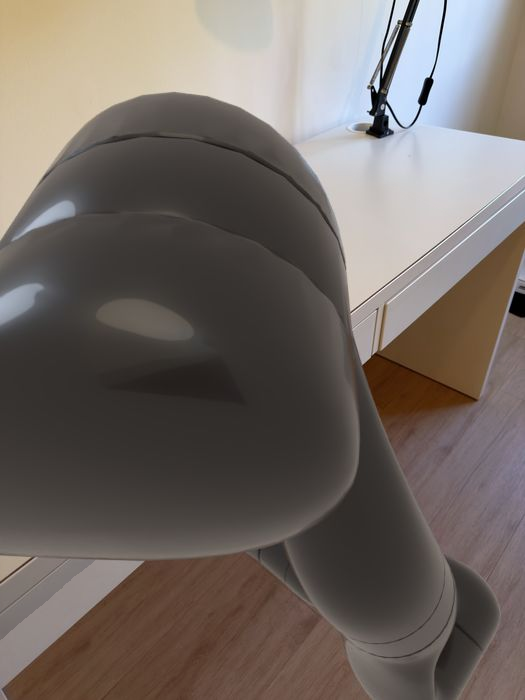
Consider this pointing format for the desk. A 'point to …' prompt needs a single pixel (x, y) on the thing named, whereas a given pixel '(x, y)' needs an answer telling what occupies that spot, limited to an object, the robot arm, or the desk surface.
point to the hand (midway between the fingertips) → (133, 404)
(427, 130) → the desk surface
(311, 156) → the desk surface
